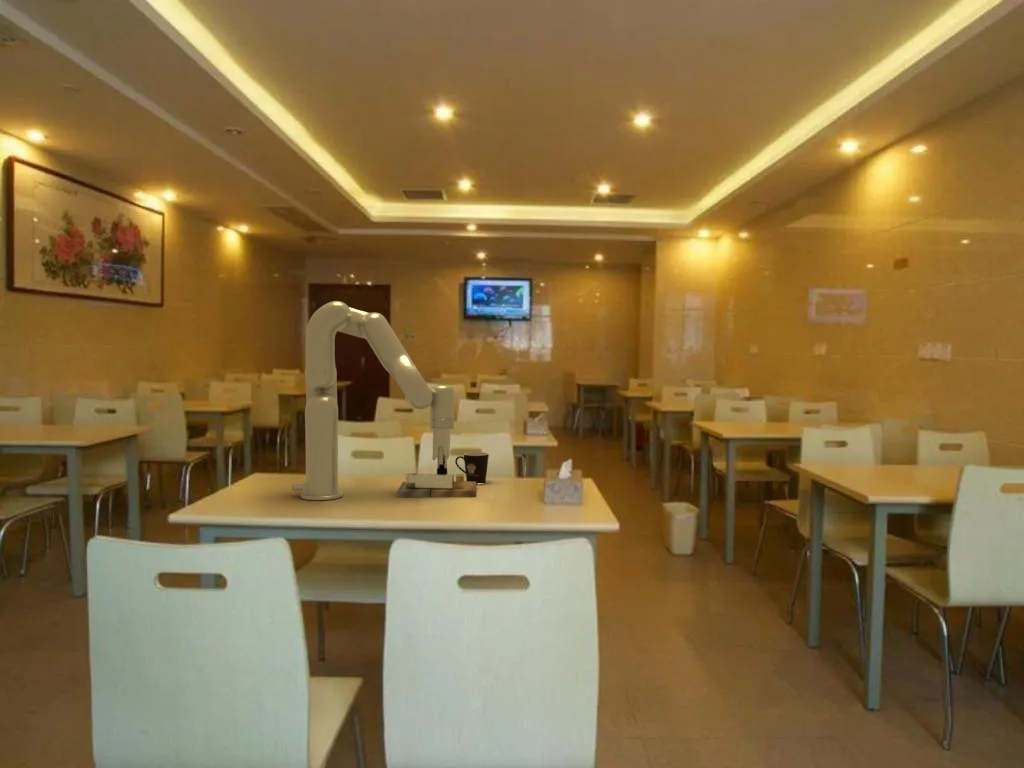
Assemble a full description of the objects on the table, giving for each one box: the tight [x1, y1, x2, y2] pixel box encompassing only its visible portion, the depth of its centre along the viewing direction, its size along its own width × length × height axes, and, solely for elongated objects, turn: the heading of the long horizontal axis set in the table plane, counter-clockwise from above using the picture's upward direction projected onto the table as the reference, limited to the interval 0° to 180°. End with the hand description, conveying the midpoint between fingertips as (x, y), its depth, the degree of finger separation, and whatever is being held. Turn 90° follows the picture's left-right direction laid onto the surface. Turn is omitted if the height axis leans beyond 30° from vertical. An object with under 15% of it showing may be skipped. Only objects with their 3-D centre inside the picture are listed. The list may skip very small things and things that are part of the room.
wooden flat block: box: [396, 473, 477, 498], centre depth 219 cm, size 24×16×6 cm, turn 92°
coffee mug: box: [454, 451, 490, 484], centre depth 237 cm, size 12×9×10 cm
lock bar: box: [405, 472, 455, 488], centre depth 214 cm, size 15×4×4 cm, turn 86°
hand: (442, 480), depth 220 cm, fingers closed
